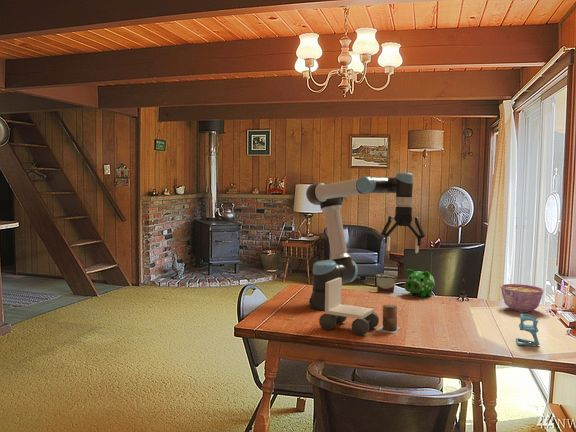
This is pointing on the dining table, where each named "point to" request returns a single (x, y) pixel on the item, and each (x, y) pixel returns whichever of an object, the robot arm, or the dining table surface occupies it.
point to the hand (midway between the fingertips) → (402, 251)
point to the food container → (385, 283)
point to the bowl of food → (521, 296)
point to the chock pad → (387, 331)
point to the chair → (528, 329)
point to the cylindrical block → (389, 317)
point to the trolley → (345, 311)
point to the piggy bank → (419, 283)
